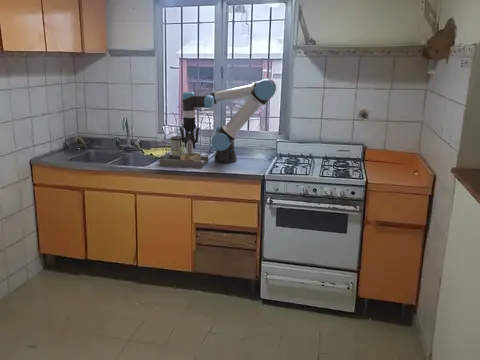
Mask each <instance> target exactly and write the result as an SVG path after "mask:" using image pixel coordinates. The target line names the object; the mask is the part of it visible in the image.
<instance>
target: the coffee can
mask: <svg viewBox="0 0 480 360" xmlns="http://www.w3.org/2000/svg"><path fill="white" fill-rule="evenodd" d="M169 138H170V149H171V150H170V152H171V153H170V154H172V155H182V154H184V153H185V152H187V148H185V143H184V142H182V138H181V135H176V136H175V135H174V136H170V137H169Z"/></svg>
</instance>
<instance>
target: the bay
mask: <svg viewBox="0 0 480 360" xmlns="http://www.w3.org/2000/svg"><path fill="white" fill-rule="evenodd" d="M180 156H181V155H172V154H171V153H170V152H166V153H165V154H162V155H160V159H159V162H158V163H159V164H158V165H159V167H170V166H174V167H173V168H188V167H192V168H191V169H202V168H203V167H205V166H206V165H207V164H208V163H209V156H207V155H200V161H186V160H181V157H180Z"/></svg>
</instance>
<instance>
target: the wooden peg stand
mask: <svg viewBox="0 0 480 360" xmlns="http://www.w3.org/2000/svg"><path fill="white" fill-rule="evenodd" d="M187 138H188V154H187V151H186V152H185V153H184V154H182V155H181V156H180V157H181V160H186V161H200V156H201V153H200V152H194V153H193V154H192V147H191V144H192V136H191V133H190V132H189V134H187Z"/></svg>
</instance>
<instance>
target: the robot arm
mask: <svg viewBox="0 0 480 360" xmlns="http://www.w3.org/2000/svg"><path fill="white" fill-rule="evenodd" d="M276 91H277V85H276V82H275V81H274V80H272V79H271V78H268V77H267V78H262V79H260V80H258V81H254V82H252V84H251V83H250V84H247V85H243V86H242V85H241V86H238V87H237V86H236V87H233V88H228V89H223V90H219V91H214V92H208V93H205V94H203V95H195V92H193V91H186V92H183V93H182V101H181V102H182V116H183V117H182V120H183V121H182V122H183V124H182V126H180V127H178V129H179V130H180V136H181V138H182V142H184V143H185V148H186V152H187V154H188V138H187V134H189V133H191V136H192V144H191V147H192V154H193V153H195V149H196V143H198V142H199V134H200V129H201V127H199V126H197V125H196V109H198V108H199V109H200V108H202V109H211V108H213V107H214V105H218V104H221V103H227V102H232V101H237V100H241V99H246V98H247V99H246V101H245V102H244V103H243V104H242V105H241V106H240V108H238V110H237V111H236V113H234V115H233V116H232V117H231V119H230V120H229V121H228V122H227V123H226V124H224V125H221V126H217V127H216V129H215V132H216V133H214V134H213V136H212V137H211V140H210V141H211V145H212V147H213V148H214V149H215V150H216V151H215V154H214V162H215V163H219V164H229V163H235V162H236V161H237V158H238V157H237V154H236V151H235V140H236V139H237V134H238V132H240V130H241V129H242V128H243V127H244V126H245V125H246V123H247V122H248V121H249V120H250V119H251V118H252V116H253V115H254V114H255V113H256V112H257V111H258V110H259V109H260V107H262V106H265V105H266V104H267V103H268V102H269V100H270V99H272V98H273V96H274V95H275V93H276Z"/></svg>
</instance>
